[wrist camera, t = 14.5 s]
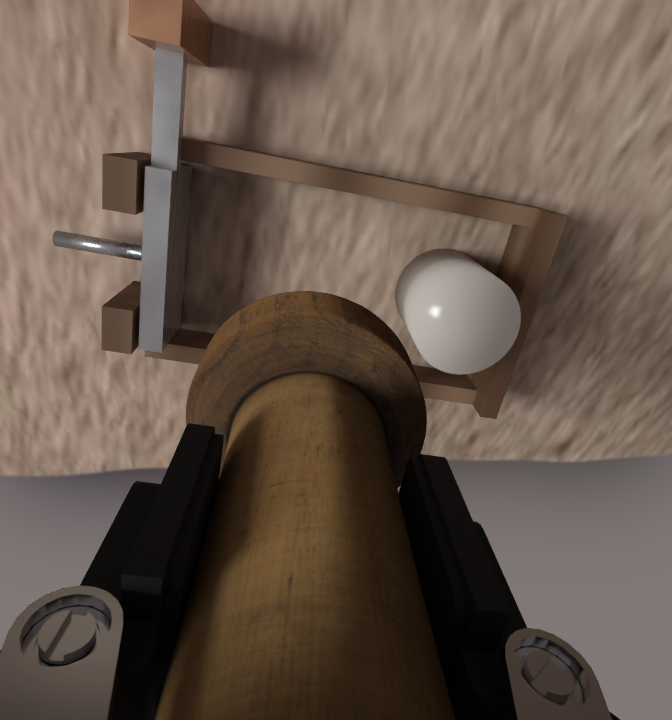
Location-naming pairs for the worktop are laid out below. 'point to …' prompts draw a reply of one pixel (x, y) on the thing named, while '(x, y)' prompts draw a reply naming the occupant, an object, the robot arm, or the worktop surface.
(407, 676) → the mortar and pestle
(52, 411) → the worktop surface
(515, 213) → the lane
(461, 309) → the white marshmallow
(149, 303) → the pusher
